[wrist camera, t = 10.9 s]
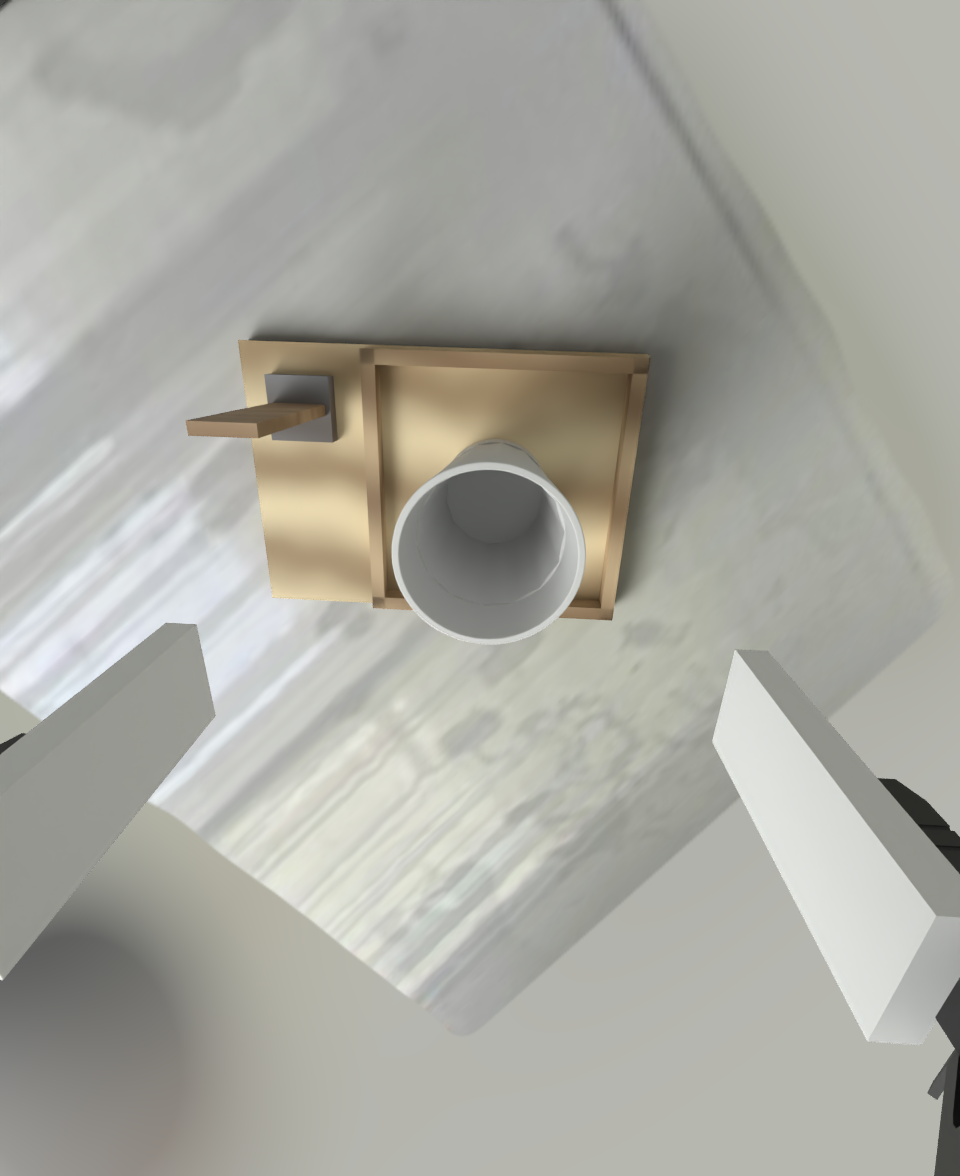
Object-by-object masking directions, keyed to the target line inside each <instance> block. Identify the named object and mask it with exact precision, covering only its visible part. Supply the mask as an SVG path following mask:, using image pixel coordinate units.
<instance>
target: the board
mask: <svg viewBox="0 0 960 1176" xmlns="http://www.w3.org/2000/svg"><path fill="white" fill-rule="evenodd" d="M238 343H239V351H240V358H241V366H242V373H243V381H244V388H245V396H246V403H247V408H244V409H240V410H235V411H230V412H225V413H220V414H216V415H211V416H206V417H201V418H196V419H191V420H187V421H186V425H187V431H188V436H213V437H237V438H251V440H252V448H253V455H254V463H255V470H256V477H257V485H258V492H259V500H260V507H261V515H262V522H263V530H264V537H265V544H266V552H267V559H268V567H269V574H270V582H271V589H272V597H273V598H288V599H308V600H327V601H347V602H366V603H373V608H382V609H401V610H413V609H412V608H411V606H410V605H409V604H408V602H407V601H406V599H405V598H404V596H403V594H402V592H401V590H400V588H399V586H398V583H397V581H396V578H395V574H394V570H393V565H392V539H393V534H394V530H395V526H396V523H397V520H398V518H399V516H400V514H401V512H402V510H403V508H404V506H405V505H406V503H407V502H408V500H409V499H410V498H411V496H412V495H413V494H414V493H415V492H416V491H417V490H418V489H419V488H420V487H421V486H422V485H423V484H424V483H426V482H427V481H428V480H430V479H431V478H432V477H434V476H435V475H436V474H438V473H439V472H440V471H442V470H443V469H444V468H445V467H446V466H447V465H449V464H450V463H451V462H452V461H453V460H454V458H455V457H456V456H457V455H458V454H459V453H460V452H461V451H462V450H464V449H465V448H466V447H468V446H470V445H471V444H474V443H476V442H479V441H482V440H487V439H504V440H508V441H512V442H514V443H517V444H519V445H521V446H522V447H524V448H525V449H527V450H528V451H529V452H530V453H531V454H532V455H533V456H534V457H535V458H536V459H537V461H538V462H539V464H540V466H541V468H542V470H543V472H544V473H545V475H546V476H547V477H548V479H549V480H550V481H551V482H552V483H553V484H554V485H555V486H556V487H557V488H558V490H559V491H560V492H561V493H562V494H563V495H564V496H565V498H566V499H567V500H568V502H569V503H570V504H571V506H572V507H573V509H574V511H575V513H576V515H577V517H578V519H579V521H580V524H581V527H582V530H583V534H584V539H585V546H586V562H585V569H584V574H583V578H582V581H581V584H580V587H579V589H578V591H577V593H576V595H575V597H574V599H573V600H572V602H571V603H570V605H569V606H568V607H567V609H566V610H565V611H564V612H563V613H562V614H561V615H560V616H559V617H558V618H576V619H596V620H612V618H613V611H614V604H615V597H616V590H617V583H618V576H619V570H620V563H621V556H622V549H623V542H624V535H625V528H626V521H627V515H628V508H629V501H630V494H631V487H632V480H633V473H634V466H635V460H636V453H637V446H638V439H639V432H640V425H641V418H642V411H643V404H644V398H645V391H646V384H647V377H648V370H649V363H650V358H649V354H629V353H599V352H570V351H541V350H512V349H483V348H454V347H425V346H396V345H367V344H338V343H309V342H280V341H250V340H238Z"/></svg>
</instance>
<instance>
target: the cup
mask: <svg viewBox="0 0 960 1176" xmlns="http://www.w3.org/2000/svg"><path fill="white" fill-rule="evenodd" d="M585 562H586V546H585V539H584V534H583V530H582V527H581V524H580V521H579V519H578V517H577V515H576V513H575V511H574V509H573V507H572V506H571V504H570V503H569V502H568V500H567V499H566V498H565V496H564V495H563V494H562V493H561V492H560V491H559V490H558V488H557V487H556V486H555V485H554V484H553V483H552V482H551V481H550V480H549V479H548V477H547V476H546V475H545V473H544V472H543V470H542V468H541V466H540V464H539V462H538V461H537V459H536V458H535V457H534V456H533V455H532V454H531V453H530V452H529V451H528V450H527V449H525V448H524V447H522V446H521V445H519V444H517V443H514V442H512V441H508V440H504V439H487V440H482V441H479V442H476V443H474V444H471V445H470V446H468V447H466V448H465V449H464V450H462V451H461V452H460V453H459V454H458V455H457V456H456V457H455V458H454V460H453V461H452V462H451V463H450V464H449V465H447V466H446V467H445V468H444V469H443V470H442V471H440V472H439V473H438V474H436V475H435V476H434V477H432V478H431V479H430V480H428V481H427V482H426V483H424V484H423V485H422V486H421V487H420V488H419V489H418V490H417V491H416V492H415V493H414V494H413V495H412V496H411V498H410V499H409V500H408V502H407V503H406V505H405V506H404V508H403V510H402V512H401V514H400V516H399V518H398V520H397V523H396V526H395V530H394V534H393V539H392V565H393V570H394V574H395V578H396V581H397V583H398V586H399V588H400V590H401V592H402V594H403V596H404V598H405V599H406V601H407V602H408V604H409V605H410V606H411V608H412V609H413V610H414V611H415V612H416V613H417V614H418V615H419V616H420V617H421V618H422V619H423V620H424V621H425V622H426V623H428V624H429V625H430V626H432V627H433V628H435V629H436V630H438V631H440V632H442V633H444V634H446V635H448V636H450V637H453V638H455V639H458V640H462V641H465V642H470V643H476V644H504V643H510V642H514V641H518V640H521V639H524V638H527V637H529V636H532V635H534V634H536V633H538V632H540V631H541V630H543V629H544V628H546V627H547V626H549V625H550V624H551V623H553V622H554V621H555V620H556V619H557V618H558V617H559V616H560V615H561V614H562V613H563V612H564V611H565V610H566V609H567V607H568V606H569V605H570V603H571V602H572V600H573V599H574V597H575V595H576V593H577V591H578V589H579V587H580V584H581V581H582V578H583V574H584V569H585Z"/></svg>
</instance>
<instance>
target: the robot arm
mask: <svg viewBox="0 0 960 1176" xmlns="http://www.w3.org/2000/svg"><path fill="white" fill-rule="evenodd" d="M5 1H6V0H0V6H1V5H2V4H3V3H4V2H5ZM215 716H216V715H215V711H214V706H213V701H212V697H211V692H210V687H209V682H208V678H207V673H206V668H205V663H204V659H203V654H202V649H201V644H200V640H199V635H198V630H197V625H196V624H178V623H165V624H164V625H163V626H161V627H160V628H159V629H158V630H156V631H155V632H154V633H153V634H151V635H150V636H149V637H148V638H146V639H145V640H144V641H143V642H141V643H140V644H139V645H138V646H136V647H135V648H134V649H133V650H131V651H130V652H129V653H128V654H126V655H125V656H124V657H122V658H121V659H120V660H119V661H117V662H116V663H115V664H114V665H112V666H111V667H110V668H109V669H107V670H106V671H105V672H104V673H102V674H101V675H100V676H99V677H97V678H96V679H95V680H94V681H92V682H91V683H90V684H88V685H87V686H86V687H85V688H83V689H82V690H81V691H80V692H78V693H77V694H76V695H75V696H73V697H72V698H71V699H70V700H68V701H67V702H66V703H65V704H63V705H62V706H61V707H60V708H58V709H57V710H56V711H54V712H53V713H52V714H51V715H49V716H48V717H47V718H46V719H44V720H43V721H42V722H41V723H39V724H38V725H37V726H36V727H34V728H33V729H32V730H31V731H29V732H28V733H27V734H24V733H23V734H22V733H21V734H20V735H18V736H16V737H14V738H12V739H10V740H8V741H6V742H4V743H2V744H0V980H3V979H4V978H5V977H6V976H7V974H8V973H9V972H10V971H11V969H12V968H13V967H14V966H15V965H16V963H17V962H18V961H19V960H20V958H21V957H22V956H23V955H24V953H25V952H26V951H27V950H28V948H29V947H30V946H31V945H32V943H33V942H34V940H35V939H36V938H37V937H38V936H39V935H40V933H41V932H42V931H43V930H44V928H45V927H46V926H47V925H48V923H49V922H50V921H51V920H52V918H53V917H54V916H55V915H56V914H57V912H58V911H59V910H60V909H61V907H62V906H63V905H64V904H65V902H66V901H67V900H68V899H69V897H70V896H71V895H72V894H73V892H74V891H75V890H76V889H77V887H78V886H79V885H80V884H81V882H82V881H83V880H84V879H85V877H86V876H87V875H88V874H89V872H90V871H91V870H92V869H93V867H94V866H95V865H96V864H97V862H98V861H99V860H100V859H101V858H102V856H103V855H104V854H105V853H106V851H107V850H108V849H109V848H110V846H111V845H112V844H113V843H114V841H115V840H116V839H117V838H118V836H119V835H120V834H121V833H122V831H123V830H124V829H125V828H126V826H127V825H128V824H129V823H130V821H131V820H132V819H133V818H134V816H135V815H136V814H137V812H138V811H139V810H140V809H141V808H142V807H143V805H144V804H145V803H146V802H147V800H148V799H149V798H150V797H151V795H152V794H153V793H154V792H155V790H156V789H157V788H158V787H159V785H160V784H161V783H162V782H163V780H164V779H165V778H166V777H167V775H168V774H169V773H170V772H171V770H172V769H173V768H174V767H175V765H176V764H177V763H178V762H179V760H180V759H181V758H182V757H183V756H184V754H185V753H186V752H187V751H188V749H189V748H190V747H191V746H192V744H193V743H194V742H195V741H196V739H197V738H198V737H199V736H200V734H201V733H202V732H203V731H204V729H205V728H206V727H207V726H208V724H209V723H210V722H211V721H212V719H213V718H214V717H215ZM712 742H713V744H714V746H715V748H716V750H717V752H718V754H719V756H720V758H721V760H722V762H723V764H724V766H725V767H726V769H727V771H728V773H729V775H730V777H731V779H732V781H733V783H734V785H735V787H736V789H737V791H738V793H739V794H740V796H741V798H742V800H743V802H744V804H745V806H746V808H747V810H748V812H749V813H750V816H751V818H752V820H753V821H754V823H755V825H756V827H757V829H758V831H759V833H760V835H761V837H762V839H763V840H764V843H765V845H766V847H767V848H768V850H769V852H770V854H771V856H772V858H773V860H774V862H775V864H776V866H777V868H778V870H779V872H780V874H781V876H782V877H783V879H784V881H785V883H786V885H787V887H788V888H789V891H790V893H791V895H792V897H793V898H794V901H795V902H796V904H797V906H798V908H799V910H800V912H801V914H802V916H803V918H804V920H805V922H806V924H807V926H808V927H809V930H810V931H811V933H812V935H813V937H814V939H815V941H816V943H817V945H818V947H819V949H820V951H821V953H822V955H823V957H824V958H825V960H826V962H827V964H828V966H829V968H830V970H831V972H832V974H833V976H834V978H835V980H836V982H837V983H838V985H839V987H840V989H841V991H842V993H843V995H844V997H845V999H846V1001H847V1003H848V1005H849V1007H850V1009H851V1011H852V1013H853V1014H854V1016H855V1018H856V1020H857V1022H858V1024H859V1026H860V1028H861V1030H862V1032H863V1034H864V1036H865V1038H866V1039H867V1041H868V1042H882V1043H897V1044H911V1045H922V1043H923V1041H924V1040H925V1038H926V1036H927V1035H928V1033H929V1032H930V1030H931V1028H932V1027H933V1025H934V1024H935V1022H936V1020H937V1021H938V1023H939V1024H940V1026H941V1027H942V1029H943V1030H944V1032H945V1033H946V1035H947V1037H948V1038H949V1040H950V1042H951V1043H952V1045H953V1046H954V1048H955V1050H954V1051H953V1053H952V1054H951V1056H950V1057H949V1059H948V1060H947V1062H946V1063H945V1065H944V1066H943V1068H942V1069H941V1071H940V1072H939V1074H938V1075H937V1077H936V1078H935V1080H934V1081H933V1083H932V1085H931V1087H930V1089H929V1091H928V1094H929V1095H931V1096H932V1097H934V1098H935V1099H938V1098H939V1096H940V1095H941V1093H942V1092H943V1090H944V1095H943V1104H942V1112H941V1113H942V1114H941V1121H940V1130H939V1139H938V1148H937V1156H936V1166H935V1175H934V1176H960V837H959V836H958V835H957V834H956V832H955V831H951V830H950V828H949V827H950V826H949V825H948V824H947V823H946V822H945V821H944V819H943V818H942V817H941V816H940V815H939V814H938V813H937V812H936V811H935V810H934V809H933V808H932V807H931V805H930V804H929V803H928V802H927V801H925V800H924V799H923V798H921V797H920V796H919V795H917V794H916V793H914V792H913V791H911V790H910V789H909V788H907V787H906V786H904V785H903V784H902V783H900V782H898V781H897V780H895V779H881V778H877V777H876V776H875V775H874V774H873V773H872V772H871V771H870V769H869V768H868V767H867V766H866V765H865V763H864V762H863V761H862V760H861V759H860V758H859V756H858V755H857V754H856V753H855V752H854V751H853V750H852V748H851V747H850V746H849V745H848V744H847V743H846V741H845V740H844V739H843V738H842V737H841V736H840V734H839V733H838V732H837V731H836V730H835V728H834V727H833V726H832V725H831V724H830V723H829V722H828V720H827V719H826V718H825V717H824V716H823V715H822V713H821V712H820V711H819V710H818V709H817V708H816V706H815V705H814V704H813V703H812V702H811V701H810V699H809V698H808V697H807V696H806V695H805V694H804V692H803V691H802V690H801V689H800V688H799V687H798V685H797V684H796V683H795V682H794V681H793V680H792V678H791V677H790V676H789V675H788V674H787V673H786V672H785V670H784V669H783V668H782V667H781V666H780V665H779V663H778V662H777V661H776V660H775V659H774V658H773V656H772V655H771V654H770V653H769V652H768V651H757V650H735V653H734V657H733V661H732V665H731V669H730V673H729V677H728V681H727V685H726V689H725V693H724V697H723V701H722V705H721V709H720V713H719V717H718V721H717V725H716V729H715V733H714V737H713V741H712Z"/></svg>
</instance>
